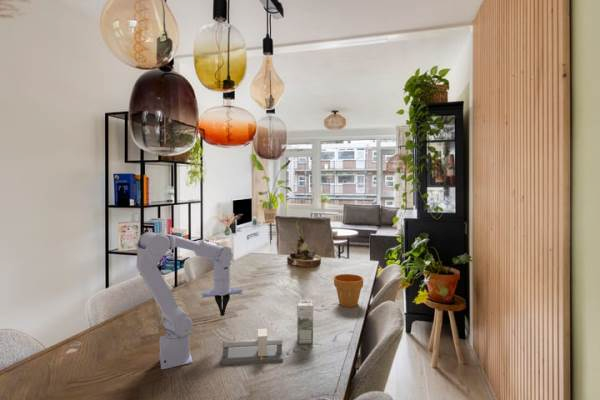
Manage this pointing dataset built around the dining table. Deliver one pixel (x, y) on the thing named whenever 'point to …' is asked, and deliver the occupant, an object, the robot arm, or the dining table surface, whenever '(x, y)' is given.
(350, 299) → the flower pot
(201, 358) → the dining table surface
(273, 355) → the pipe stand
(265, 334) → the collar
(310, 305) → the syrup box
